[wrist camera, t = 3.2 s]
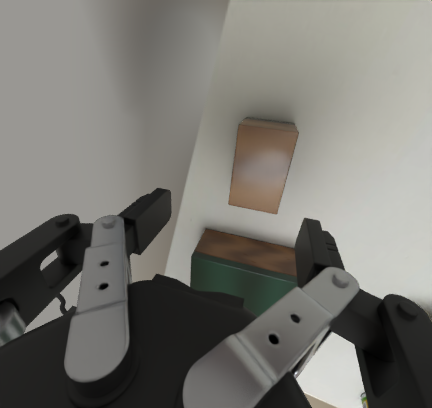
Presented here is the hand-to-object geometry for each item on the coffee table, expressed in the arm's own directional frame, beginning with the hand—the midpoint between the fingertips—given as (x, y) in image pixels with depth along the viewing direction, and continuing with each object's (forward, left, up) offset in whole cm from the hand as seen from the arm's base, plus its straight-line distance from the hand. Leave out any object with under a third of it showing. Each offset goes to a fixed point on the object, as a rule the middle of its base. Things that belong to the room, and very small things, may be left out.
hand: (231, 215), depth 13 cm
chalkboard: (+2, -25, -13) cm, 28 cm away
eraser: (+1, 0, -14) cm, 14 cm away
